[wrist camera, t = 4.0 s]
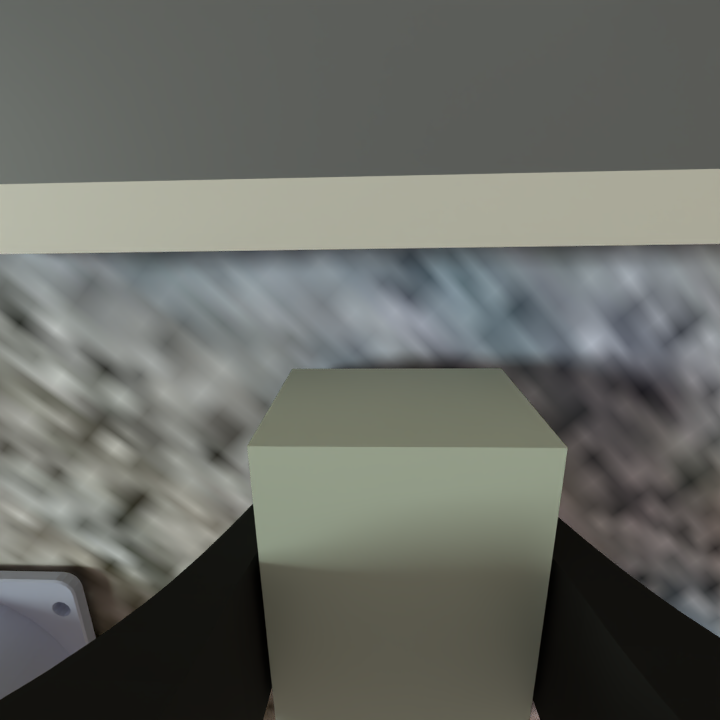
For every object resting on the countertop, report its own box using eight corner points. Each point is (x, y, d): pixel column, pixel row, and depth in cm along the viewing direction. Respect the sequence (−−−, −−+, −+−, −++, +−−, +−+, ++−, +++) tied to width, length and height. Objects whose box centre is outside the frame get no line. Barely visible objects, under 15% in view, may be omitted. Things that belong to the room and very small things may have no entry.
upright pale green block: (469, 589, 12) (520, 789, 8) (315, 586, 13) (282, 781, 8) (487, 351, 10) (567, 447, 6) (301, 353, 11) (247, 446, 6)
